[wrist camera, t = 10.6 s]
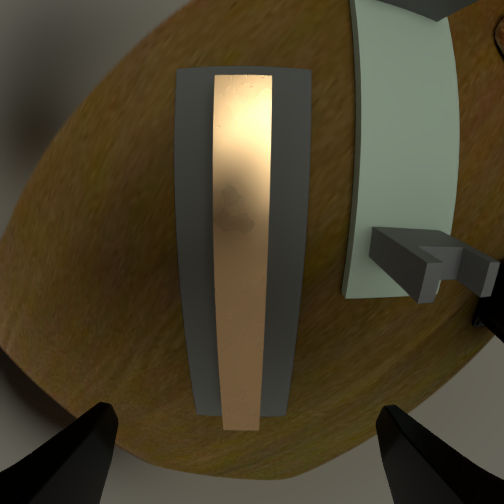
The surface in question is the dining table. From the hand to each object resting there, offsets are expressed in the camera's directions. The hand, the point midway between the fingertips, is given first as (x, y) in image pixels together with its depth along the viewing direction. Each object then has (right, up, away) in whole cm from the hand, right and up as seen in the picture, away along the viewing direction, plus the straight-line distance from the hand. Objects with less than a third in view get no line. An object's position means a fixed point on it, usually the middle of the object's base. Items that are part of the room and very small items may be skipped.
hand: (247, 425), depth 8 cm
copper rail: (0, +4, +11) cm, 11 cm away
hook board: (+11, +15, +8) cm, 20 cm away
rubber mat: (-1, +4, +11) cm, 12 cm away
